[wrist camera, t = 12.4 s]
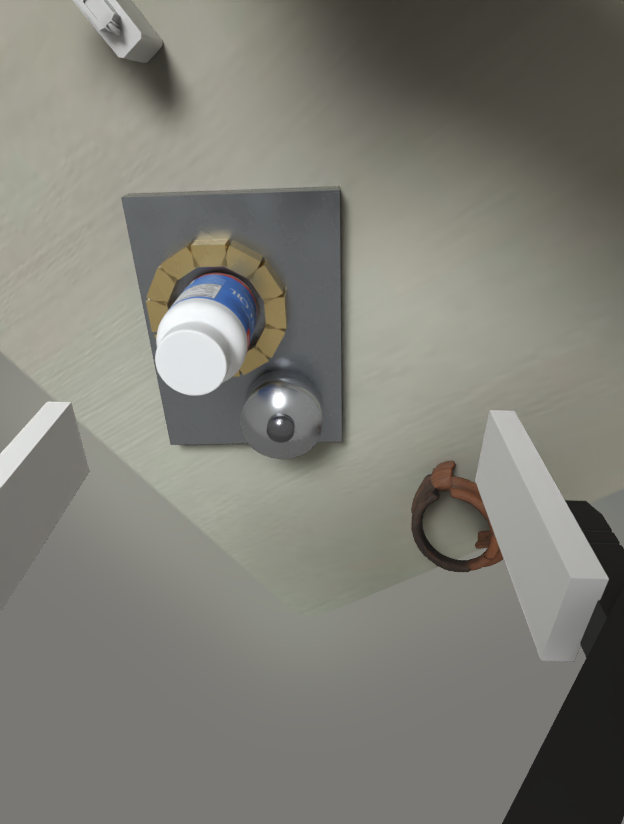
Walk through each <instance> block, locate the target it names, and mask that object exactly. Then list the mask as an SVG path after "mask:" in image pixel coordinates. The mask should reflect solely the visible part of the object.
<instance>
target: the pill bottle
mask: <svg viewBox="0 0 624 824" xmlns="http://www.w3.org/2000/svg"><path fill="white" fill-rule="evenodd" d="M257 317H258V307H257V302H256V299H255V297H254V295H253V293H252V291H251V290H250V289H249V287H248V286H247V285H246V284H245V283H244V282H242V281H241V280H240V279H238V278H236V277H234V276H232V275H229V274H225V273H208V274H204V275H202V276H200V277H198V278H196V279H195V280H193V281H192V282H191V283H190V284H189V285H188V286H187V287H186V289H185V290H184V291H183V292H182V294H181V295H180V296H179V297H178V299H177V300H176V301H175V302H174V304H173V305H172V306H171V307H170V309H169V310H168V311H167V313H166V314H165V315H164V317H163V318H162V320H161V322H160V324H159V327H158V331H157V337H156V343H157V350H156V354H155V363H156V367H157V371H158V373H159V375H160V376H161V378H162V379H163V381H164V382H165V383H166V384H167V385H168V386H170V387H171V388H172V389H174V390H176V391H178V392H180V393H183V394H186V395H192V396H198V395H204V394H207V393H210V392H212V391H214V390H215V389H217V388H218V387H219V386H220V385H221V383H223V382H225V381H227V380H229V379H230V378H231V377H233V376H234V375H235V374H236V373H237V372H238V371H239V369H240V368H241V366H242V364H243V362H244V359H245V357H246V354H247V351H248V347H249V344H250V341H251V338H252V335H253V332H254V329H255V326H256V323H257Z"/></svg>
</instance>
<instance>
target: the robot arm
mask: <svg viewBox="0 0 624 824" xmlns="http://www.w3.org/2000/svg"><path fill="white" fill-rule="evenodd" d="M88 473H89V467H88V464H87V460H86V456H85V453H84V449H83V445H82V441H81V438H80V434H79V430H78V427H77V423H76V419H75V415H74V411H73V407H72V403H71V402H47V403H46V404H45V405H44V406H43V407H42V408H41V409H40V411H38V413H37V414H36V415H35V416H34V417H33V418H32V420H30V421H29V423H28V424H27V425H26V426H25V427H24V428H23V429H22V430H21V432H20V433H19V434H18V435H17V436H16V437H15V438H14V439H13V441H11V443H10V444H9V445H8V446H7V447H6V448H5V449H4V450H3V451H2V453H1V454H0V614H1V612H2V610H3V609H4V607H5V606H6V604H7V602H8V601H9V599H10V598H11V596H12V595H13V593H14V591H15V590H16V588H17V586H18V585H19V583H20V582H21V580H22V578H23V577H24V575H25V574H26V572H27V571H28V569H29V567H30V566H31V564H32V563H33V561H34V560H35V558H36V556H37V555H38V553H39V552H40V550H41V548H42V547H43V545H44V544H45V542H46V540H47V539H48V537H49V536H50V534H51V532H52V531H53V529H54V528H55V526H56V524H57V523H58V521H59V520H60V518H61V517H62V515H63V513H64V512H65V510H66V509H67V507H68V505H69V504H70V502H71V501H72V499H73V497H74V496H75V494H76V493H77V491H78V489H79V488H80V486H81V485H82V483H83V481H84V480H85V478H86V476H87V475H88ZM475 482H476V484H477V487H478V490H479V493H480V495H481V498H482V501H483V504H484V506H485V509H486V512H487V515H488V517H489V520H490V523H491V526H492V528H493V531H494V534H495V537H496V539H497V542H498V545H499V548H500V550H501V553H502V556H503V559H504V561H505V564H506V567H507V569H508V572H509V575H510V578H511V581H512V583H513V586H514V589H515V592H516V594H517V597H518V600H519V603H520V605H521V608H522V611H523V613H524V616H525V619H526V622H527V625H528V627H529V630H530V633H531V635H532V639H533V641H534V644H535V647H536V650H537V652H538V655H539V658H540V660H541V661H564V662H574V661H575V658H576V656H577V654H578V651H579V649H580V647H581V646H582V649H583V651H584V653H585V655H586V660H585V662H584V664H583V666H582V668H581V670H580V672H579V674H578V676H577V678H576V680H575V682H574V684H573V686H572V688H571V690H570V692H569V694H568V695H567V697H566V700H565V701H564V703H563V705H562V707H561V709H560V711H559V713H558V715H557V717H556V719H555V721H554V723H553V725H552V727H551V729H550V731H549V733H548V735H547V737H546V739H545V741H544V743H543V745H542V746H541V748H540V751H539V752H538V754H537V756H536V758H535V760H534V762H533V764H532V766H531V768H530V770H529V772H528V774H527V776H526V778H525V780H524V782H523V784H522V786H521V788H520V790H519V792H518V794H517V796H516V797H515V799H514V802H513V803H512V805H511V807H510V809H509V811H508V813H507V815H506V817H505V819H504V821H503V823H502V824H621V823H622V820H623V817H624V549H623V547H622V546H621V545H619V541H618V539H617V537H616V536H615V534H614V533H612V530H611V528H610V526H609V525H608V524H607V522H606V520H605V519H604V517H603V515H602V514H601V513H599V512H598V511H597V510H596V509H595V508H594V507H592V506H591V505H590V504H589V503H588V502H586V501H565V500H564V498H563V496H562V495H561V493H560V491H559V489H558V488H557V486H556V484H555V482H554V480H553V479H552V477H551V475H550V473H549V472H548V470H547V468H546V466H545V464H544V463H543V461H542V459H541V457H540V455H539V454H538V452H537V450H536V448H535V447H534V445H533V443H532V441H531V439H530V438H529V436H528V434H527V432H526V431H525V429H524V427H523V425H522V423H521V422H520V420H519V418H518V416H517V415H516V413H515V411H502V410H489V415H488V420H487V425H486V429H485V434H484V439H483V444H482V449H481V454H480V459H479V464H478V468H477V473H476V478H475Z"/></svg>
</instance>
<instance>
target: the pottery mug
mask: <svg viewBox="0 0 624 824" xmlns="http://www.w3.org/2000/svg"><path fill="white" fill-rule="evenodd" d="M455 466H456V464H455V462H454V461H447V462H444V463H441V464H439V465H437V467H436V468H434V469H433V473H432V474H429V475H427V476H426V477H425V479H424V480H423V482H422V483H421V485H420V486H419V488H418V490H417V492H416V494H415V497H414V499H413V504H412V509H411V511H412V514H413V515H412V533H413V537H414V540H415V542H416V544H417V546H418V548H419V549H420V551H421V552H422V553H423V554H424V556H426V557H427V558H428V559H429V560H430V561H432V562H433V563H435V564H436V565H437V566H439V567H441V568H443V569H446V570H448V571H454V572H469V571H471V570H477V569H480V568H482V567H487V566H491V565H493V564H496V563H498V562H500V561H501V560H503V556H502V553H501V550H500V548H499V545H498V542H497V539H496V537H495V534H494V531H493V528H492V526H491V523H490V520H489V517H488V515H487V512H486V509H485V506H484V504H483V501H482V498H481V495H480V493H479V490H478V487H477V484H475V483H473V482H471V481H469V480H467V479H464V478H459V477H454V476H453V469H454V467H455ZM445 490H450V494H451V497H453V498H457V499H460V500H463V501H466V502H468V503H470V504H472V505H473V506H474V507H476V508H477V509H478V510H479V511H480V512H481V513H482V515H483V516H484V517H485V518H486V519H487V521H488V524H489V527H490V530H488V531H481V532H479V533H478V541H477V542H476V544H475V546H476V548H487V550H486V551H485V552H484V553H483V554H482V555H481V556H479V557H477V558H474V559H470V560H463V561H462V560H455V559H451V558H449V557H446V556H444V555H442V554H441V553H439V552H438V551H437V550H436V549H434V548H433V547H432V545H431V544H430V543H429V541H428V540H427V538H426V536H425V534H424V531H423V526H422V519H423V515H424V512H425V510H426V508H427V507H428V506H429V505H430V504H431V503H433V502H434V501H436V500H438V499H439V492H440V491H445Z"/></svg>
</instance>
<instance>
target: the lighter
mask: <svg viewBox="0 0 624 824" xmlns="http://www.w3.org/2000/svg"><path fill="white" fill-rule="evenodd" d="M73 2H74V3H75V4H76V5H77V6H78V8H79V9H80V10H81V11H82V13H83V14H84V15H85V16H86V18H87V19H88V20H89V21H90V22H91V24H92V25H93V26H94V27H95V29H96V30H97V31H98V32H99V34H100V35H101V36H102V37H103V39H104V40H105V41H106V42H107V43H108V45H109V46H110V47H111V48H112V50H113V51H114V52H115V53H116V55H117V56H118V57H119V58H124V59H128V60H133V61H138V62H142V63H147V62H148V61H149V60H150V59H151V58H152V57H153V56H154V55H155V54H156V52H157V51H158V50H159V49H160V48H161V47H162V46H163V41H162V39H161V38H160V37H159V35H158V34H157V33H156V31H155V30H154V29H153V28H152V26H151V25H150V24H149V22H148V21H147V20H146V18H145V17H144V16H143V15H142V13H141V12H140V11H139V9H138V8H137V7H136V5H135V4H134V3H133V1H132V0H73Z"/></svg>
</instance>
